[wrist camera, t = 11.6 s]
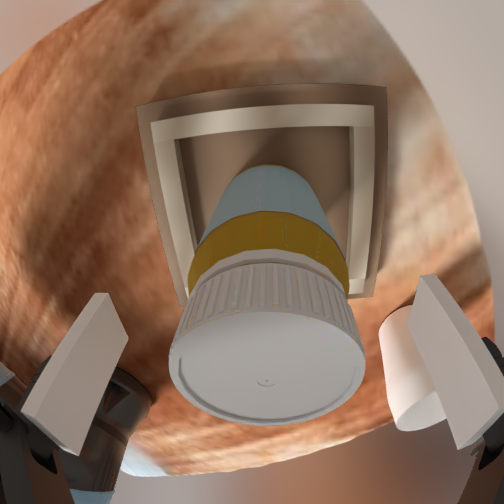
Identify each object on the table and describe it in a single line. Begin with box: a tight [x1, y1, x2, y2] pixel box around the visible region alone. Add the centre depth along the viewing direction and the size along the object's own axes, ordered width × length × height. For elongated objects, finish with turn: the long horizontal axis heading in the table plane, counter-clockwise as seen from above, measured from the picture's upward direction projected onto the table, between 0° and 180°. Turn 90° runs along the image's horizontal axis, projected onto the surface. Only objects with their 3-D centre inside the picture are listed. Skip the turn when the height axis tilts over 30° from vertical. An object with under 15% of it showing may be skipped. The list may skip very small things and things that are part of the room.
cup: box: [379, 305, 447, 431], centre depth 24 cm, size 9×9×12 cm
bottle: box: [169, 164, 366, 426], centre depth 15 cm, size 7×7×15 cm
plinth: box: [136, 83, 388, 306], centre depth 22 cm, size 18×18×4 cm
